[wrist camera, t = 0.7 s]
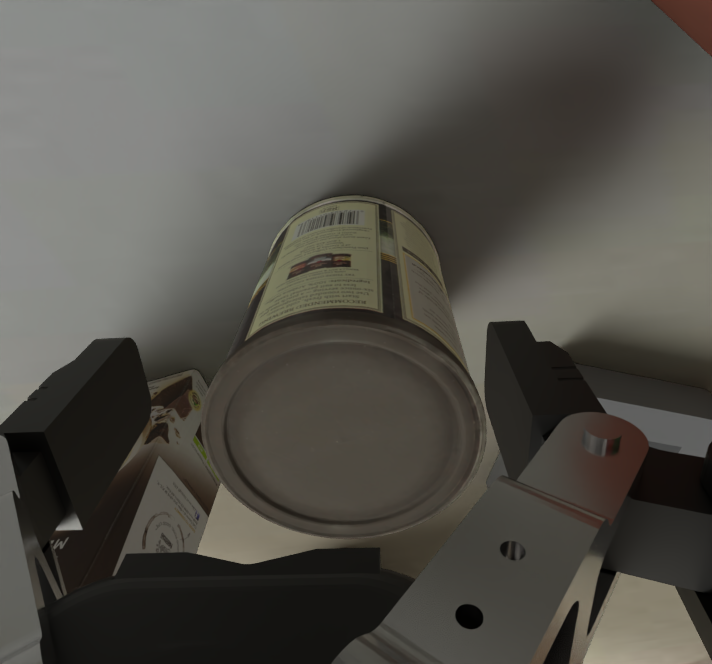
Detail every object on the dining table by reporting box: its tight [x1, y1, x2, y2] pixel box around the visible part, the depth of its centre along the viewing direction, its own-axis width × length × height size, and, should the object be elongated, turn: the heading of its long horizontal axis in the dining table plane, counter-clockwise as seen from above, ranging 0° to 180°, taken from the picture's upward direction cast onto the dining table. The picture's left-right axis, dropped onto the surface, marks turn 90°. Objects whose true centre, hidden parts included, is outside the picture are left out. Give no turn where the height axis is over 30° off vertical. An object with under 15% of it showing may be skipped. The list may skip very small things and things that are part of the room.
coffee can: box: [201, 195, 486, 539], centre depth 26 cm, size 10×10×14 cm
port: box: [486, 363, 712, 489], centre depth 36 cm, size 11×11×4 cm
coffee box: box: [50, 369, 221, 594], centre depth 31 cm, size 9×6×16 cm
